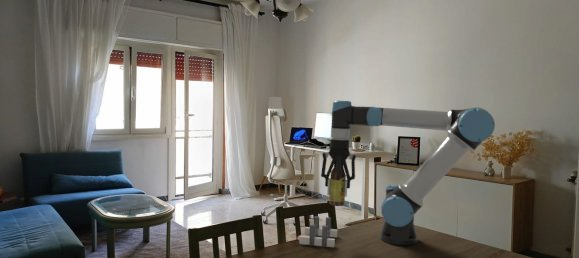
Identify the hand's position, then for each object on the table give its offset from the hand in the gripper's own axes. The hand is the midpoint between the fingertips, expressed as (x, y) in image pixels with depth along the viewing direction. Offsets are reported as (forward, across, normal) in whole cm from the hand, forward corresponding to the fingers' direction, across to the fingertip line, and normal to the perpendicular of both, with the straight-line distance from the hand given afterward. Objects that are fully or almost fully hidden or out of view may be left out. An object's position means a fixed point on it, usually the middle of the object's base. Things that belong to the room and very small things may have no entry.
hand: (337, 195), depth 161 cm
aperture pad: (+20, +12, 0) cm, 23 cm away
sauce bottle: (+4, 0, 0) cm, 4 cm away
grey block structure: (+20, +6, 0) cm, 21 cm away
